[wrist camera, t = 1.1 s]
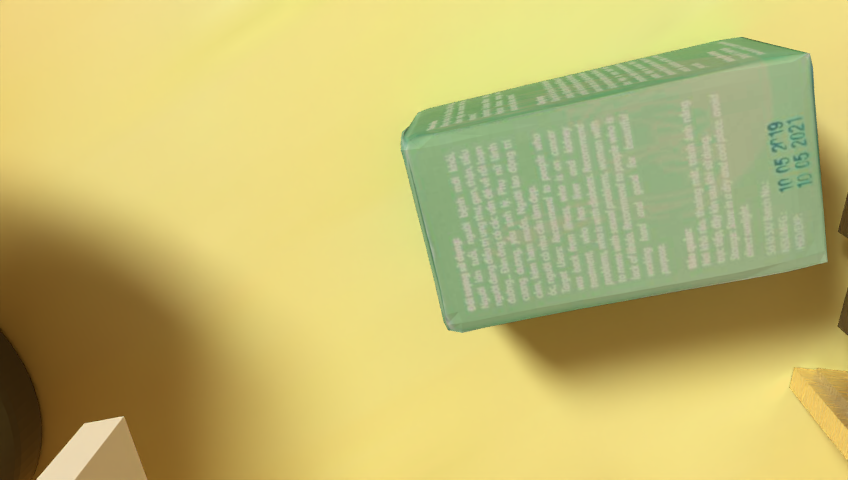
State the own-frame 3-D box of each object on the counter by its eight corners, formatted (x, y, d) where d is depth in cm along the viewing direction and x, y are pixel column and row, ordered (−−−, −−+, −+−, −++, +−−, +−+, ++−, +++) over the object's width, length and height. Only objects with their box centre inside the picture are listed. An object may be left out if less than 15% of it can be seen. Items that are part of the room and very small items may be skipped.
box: (407, 110, 33) (390, 143, 26) (738, 31, 31) (818, 44, 24) (447, 272, 35) (441, 345, 28) (760, 206, 33) (839, 266, 26)
